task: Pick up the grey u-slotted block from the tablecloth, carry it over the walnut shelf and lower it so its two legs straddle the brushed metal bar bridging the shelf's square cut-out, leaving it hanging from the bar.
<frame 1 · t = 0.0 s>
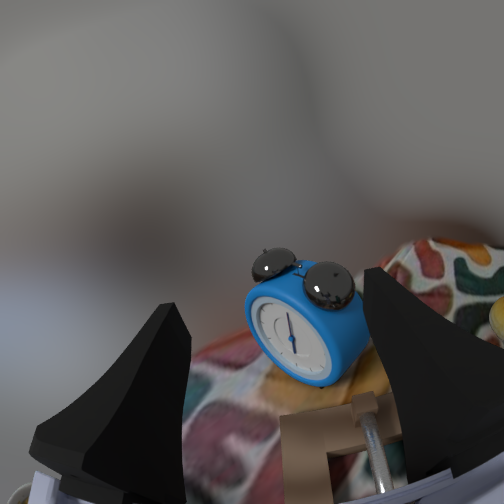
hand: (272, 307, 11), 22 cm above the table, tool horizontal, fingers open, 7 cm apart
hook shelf: (374, 484, 18), on the table
hook bar: (381, 472, 17), point 3 cm above the table
alarm clock: (310, 365, 34), on the table
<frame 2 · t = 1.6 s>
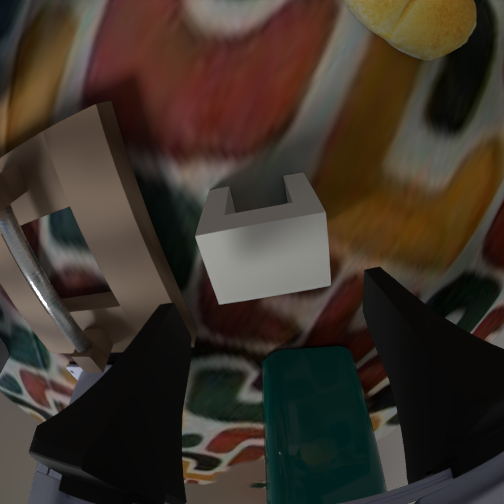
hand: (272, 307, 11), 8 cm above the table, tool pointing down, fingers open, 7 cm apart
grey u-slotted block: (262, 211, 18), on the table
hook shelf: (67, 254, 19), on the table
hook bar: (42, 286, 16), point 3 cm above the table
teal bottle: (304, 373, 28), on the table
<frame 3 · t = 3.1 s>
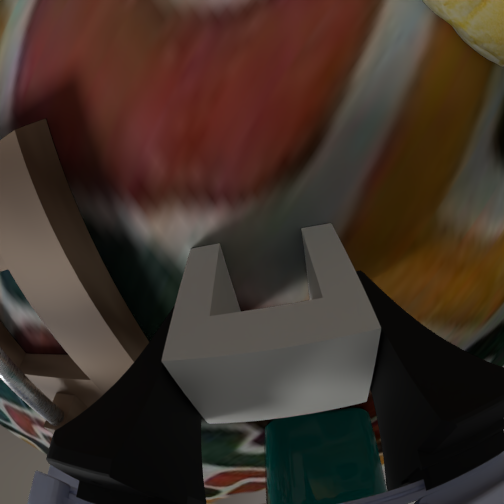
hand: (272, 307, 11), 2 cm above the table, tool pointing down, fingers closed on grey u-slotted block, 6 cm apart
grey u-slotted block: (268, 276, 13), on the table, touching gripper
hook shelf: (25, 311, 14), on the table
teal bottle: (312, 430, 22), on the table
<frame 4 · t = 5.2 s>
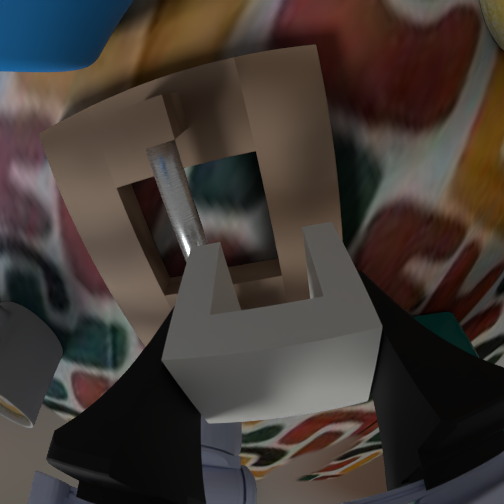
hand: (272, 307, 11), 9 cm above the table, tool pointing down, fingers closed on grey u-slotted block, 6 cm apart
grey u-slotted block: (269, 275, 12), point 7 cm above the table, touching gripper
coffee mug: (26, 323, 25), on the table
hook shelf: (206, 218, 19), on the table
hook bar: (196, 252, 15), point 3 cm above the table
teal bottle: (410, 343, 27), on the table
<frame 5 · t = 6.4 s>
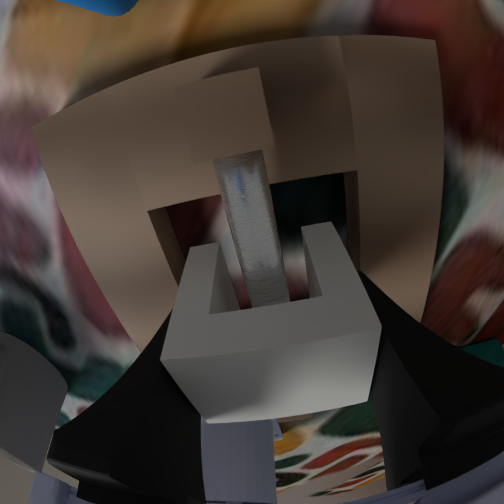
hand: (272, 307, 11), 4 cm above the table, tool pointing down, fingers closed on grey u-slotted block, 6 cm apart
grey u-slotted block: (268, 275, 12), point 2 cm above the table, touching gripper
coffee mug: (24, 355, 20), on the table
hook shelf: (266, 250, 14), on the table
hook bar: (272, 308, 11), point 3 cm above the table
teal bottle: (453, 371, 22), on the table
when the fingers open (3 cm above the table, at t = 7.5 s): grey u-slotted block stays where it is, resting on hook bar.
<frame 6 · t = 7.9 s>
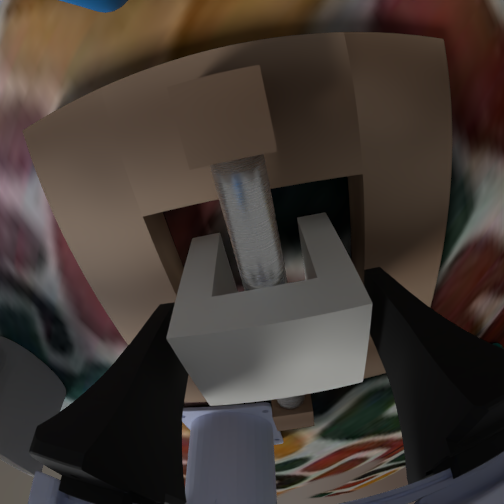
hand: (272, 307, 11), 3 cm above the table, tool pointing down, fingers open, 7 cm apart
grey u-slotted block: (266, 264, 13), point 1 cm above the table, touching hook bar
coffee mug: (22, 359, 20), on the table
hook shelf: (267, 256, 14), on the table
hook bar: (273, 319, 10), point 3 cm above the table
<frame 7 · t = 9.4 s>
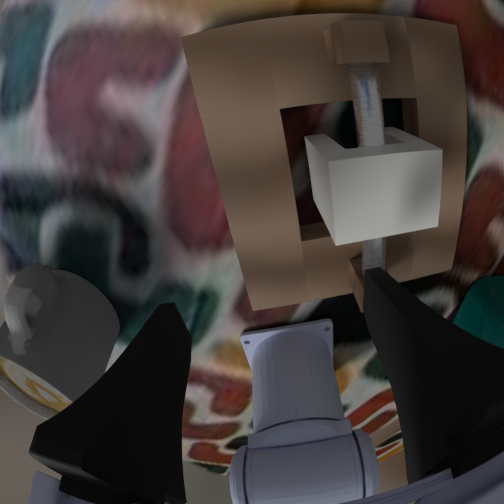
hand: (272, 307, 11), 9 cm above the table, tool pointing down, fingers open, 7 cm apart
grey u-slotted block: (353, 162, 17), point 1 cm above the table, touching hook bar
coffee mug: (74, 297, 23), on the table
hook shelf: (349, 160, 17), on the table
hook bar: (373, 181, 14), point 3 cm above the table
teal bottle: (478, 307, 25), on the table
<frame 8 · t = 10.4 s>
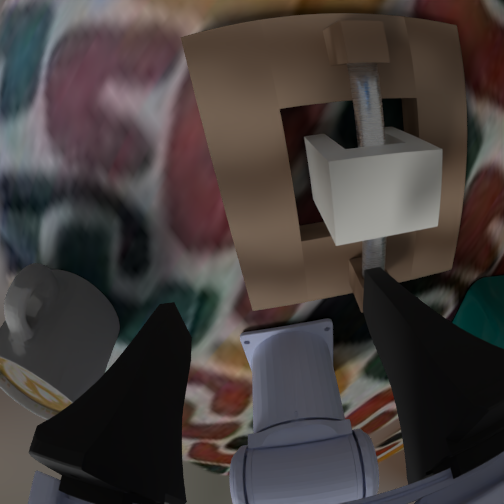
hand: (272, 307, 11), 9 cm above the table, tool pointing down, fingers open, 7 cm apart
grey u-slotted block: (353, 162, 17), point 1 cm above the table, touching hook bar
coffee mug: (74, 297, 23), on the table
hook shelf: (349, 160, 17), on the table
hook bar: (373, 181, 14), point 3 cm above the table
teal bottle: (478, 307, 25), on the table
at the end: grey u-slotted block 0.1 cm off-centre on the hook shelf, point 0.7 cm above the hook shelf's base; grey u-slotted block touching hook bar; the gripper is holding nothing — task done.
